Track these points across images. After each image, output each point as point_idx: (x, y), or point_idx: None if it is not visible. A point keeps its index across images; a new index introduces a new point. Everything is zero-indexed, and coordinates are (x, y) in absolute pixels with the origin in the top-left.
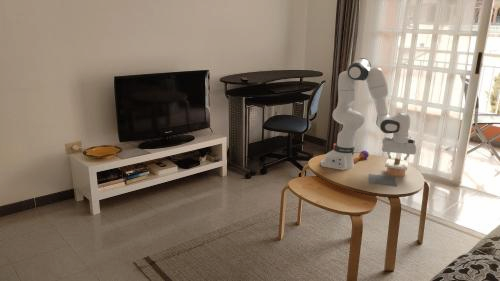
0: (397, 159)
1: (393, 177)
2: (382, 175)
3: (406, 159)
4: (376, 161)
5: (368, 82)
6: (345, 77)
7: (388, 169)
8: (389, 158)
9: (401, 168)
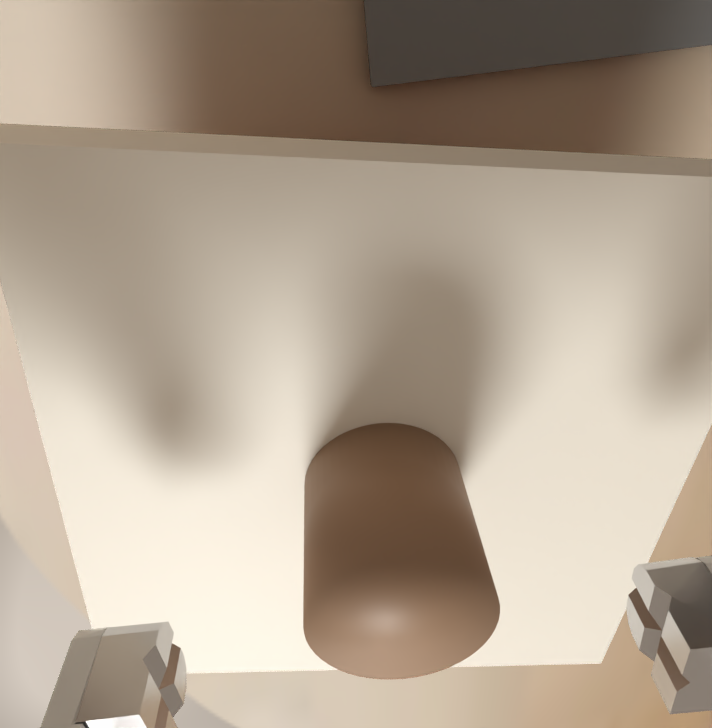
0: (409, 555)
1: (407, 11)
2: (679, 44)
3: (71, 661)
4: (624, 677)
5: None
6: None
7: None
8: (695, 561)
9: (203, 144)
